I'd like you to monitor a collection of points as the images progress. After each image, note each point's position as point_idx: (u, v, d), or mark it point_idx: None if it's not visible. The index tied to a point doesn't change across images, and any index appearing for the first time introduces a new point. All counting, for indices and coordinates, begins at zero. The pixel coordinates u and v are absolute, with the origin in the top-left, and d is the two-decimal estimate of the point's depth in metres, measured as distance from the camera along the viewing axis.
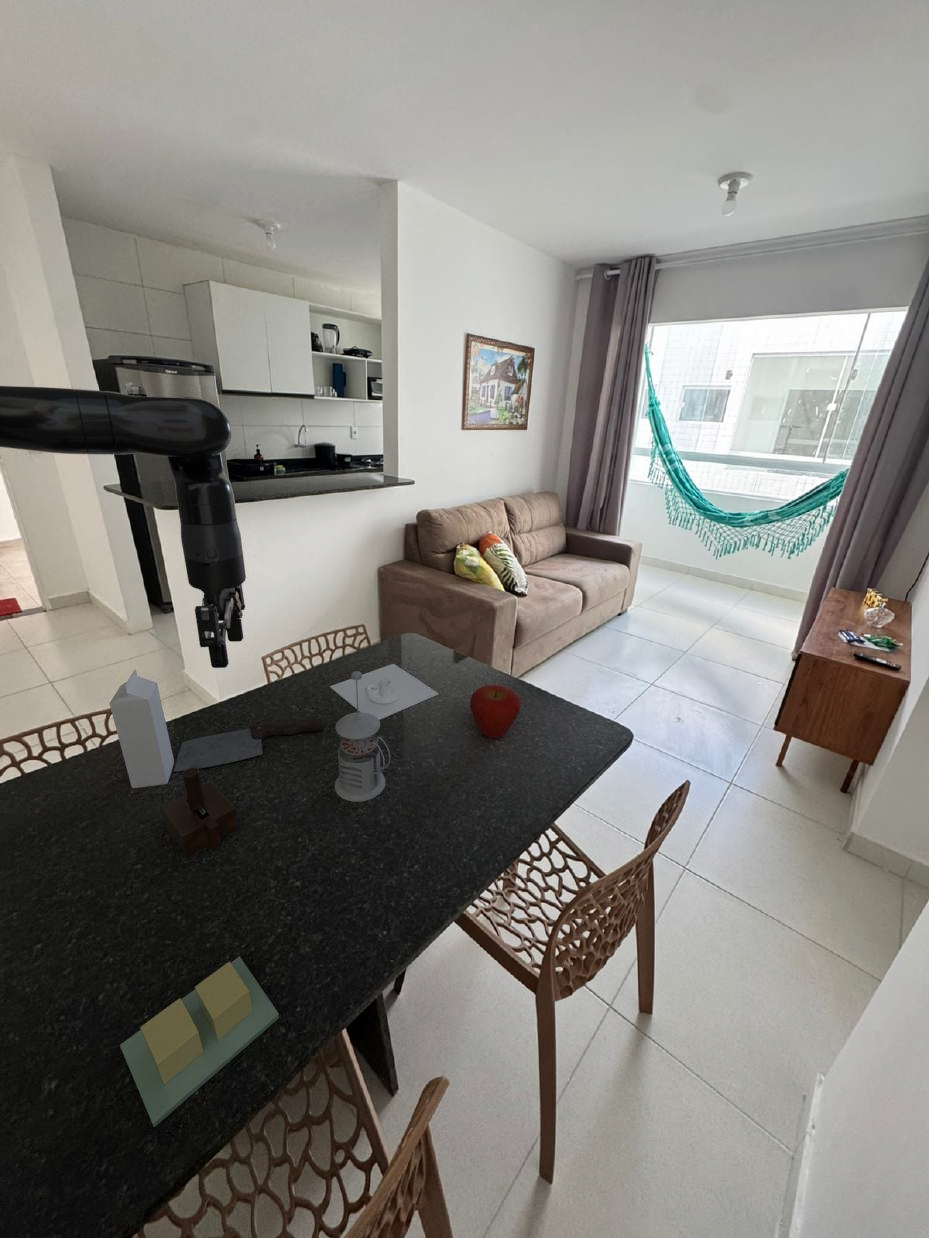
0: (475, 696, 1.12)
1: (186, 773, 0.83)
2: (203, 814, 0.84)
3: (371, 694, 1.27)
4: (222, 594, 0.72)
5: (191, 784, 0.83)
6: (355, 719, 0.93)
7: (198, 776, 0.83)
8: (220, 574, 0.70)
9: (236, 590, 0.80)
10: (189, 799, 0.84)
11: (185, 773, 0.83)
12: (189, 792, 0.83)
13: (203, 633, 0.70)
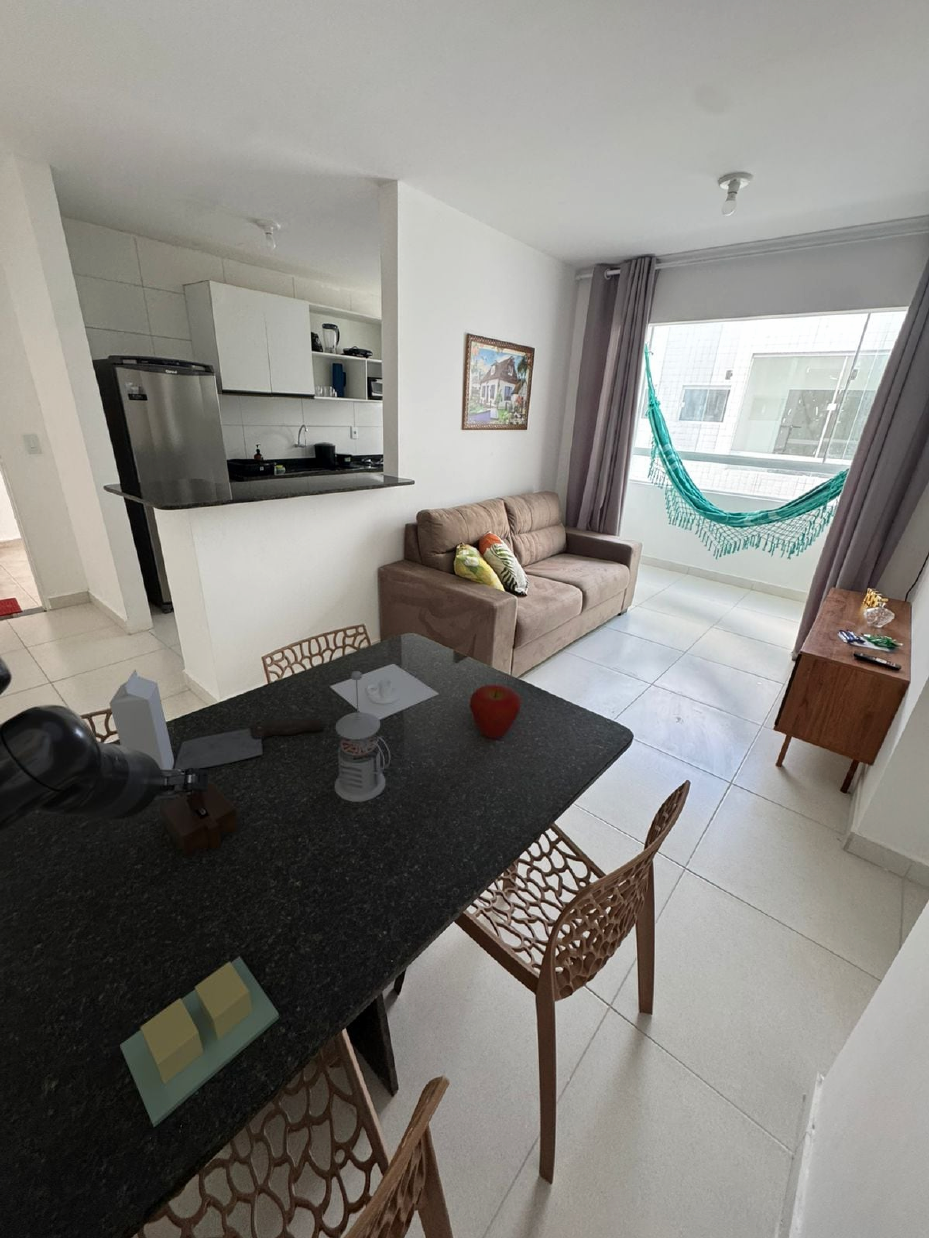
0: (475, 696, 1.12)
1: None
2: (203, 814, 0.84)
3: (371, 694, 1.27)
4: None
5: None
6: (355, 719, 0.93)
7: None
8: None
9: None
10: (189, 799, 0.84)
11: None
12: None
13: None
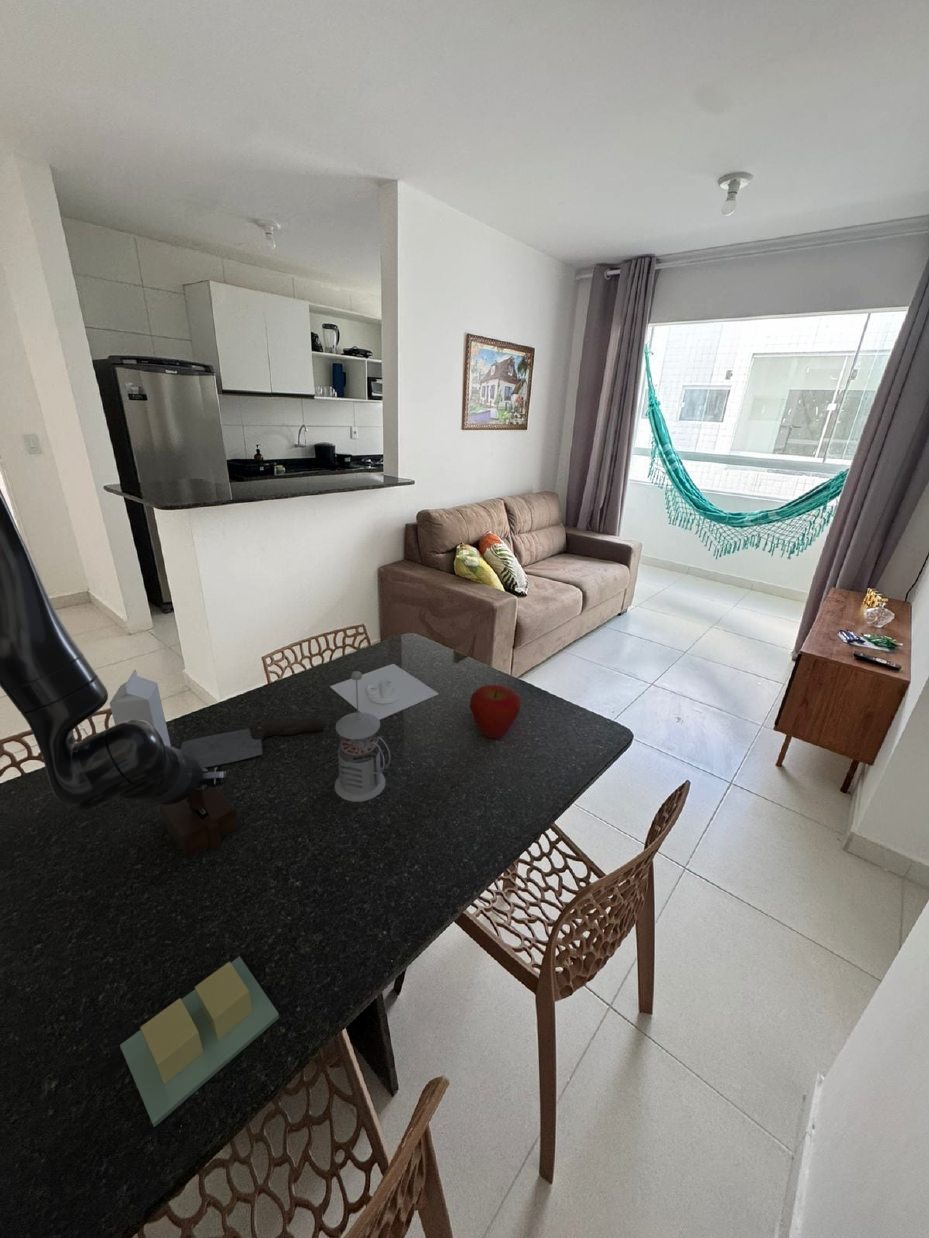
0: (475, 696, 1.12)
1: None
2: (203, 814, 0.84)
3: (371, 694, 1.27)
4: None
5: None
6: (355, 719, 0.93)
7: None
8: None
9: None
10: (189, 799, 0.84)
11: None
12: None
13: None
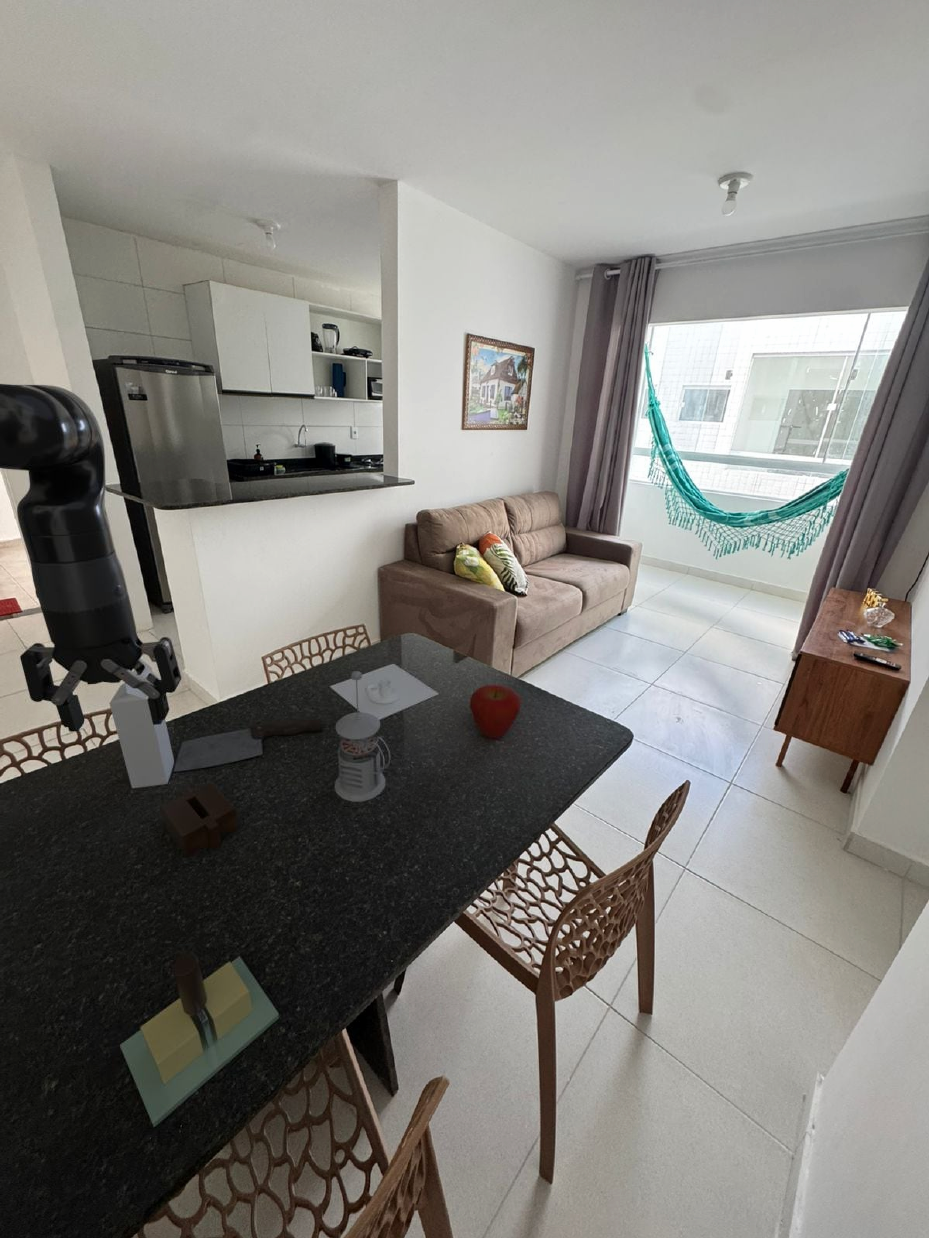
0: (475, 696, 1.12)
1: (178, 966, 0.55)
2: (204, 1022, 0.56)
3: (371, 694, 1.27)
4: (70, 649, 0.54)
5: (185, 984, 0.55)
6: (355, 719, 0.93)
7: (196, 969, 0.55)
8: None
9: None
10: (183, 1001, 0.56)
11: (177, 967, 0.55)
12: (183, 993, 0.55)
13: None
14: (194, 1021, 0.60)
